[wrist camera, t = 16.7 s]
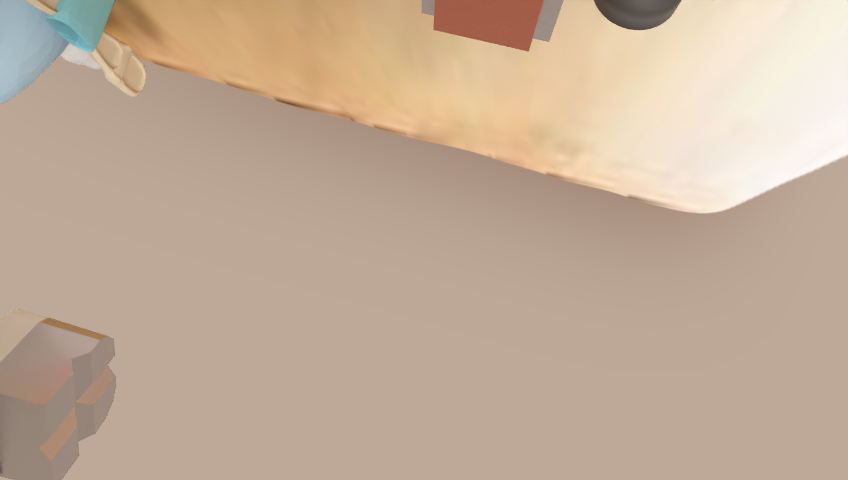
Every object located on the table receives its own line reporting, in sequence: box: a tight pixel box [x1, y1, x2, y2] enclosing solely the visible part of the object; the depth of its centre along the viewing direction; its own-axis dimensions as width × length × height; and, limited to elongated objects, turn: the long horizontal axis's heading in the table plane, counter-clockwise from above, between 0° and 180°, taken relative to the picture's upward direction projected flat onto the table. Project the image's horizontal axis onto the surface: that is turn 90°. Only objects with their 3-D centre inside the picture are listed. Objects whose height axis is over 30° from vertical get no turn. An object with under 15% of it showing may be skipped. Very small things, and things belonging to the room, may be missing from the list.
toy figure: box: [0, 0, 146, 104], centre depth 45 cm, size 17×10×15 cm, turn 5°
